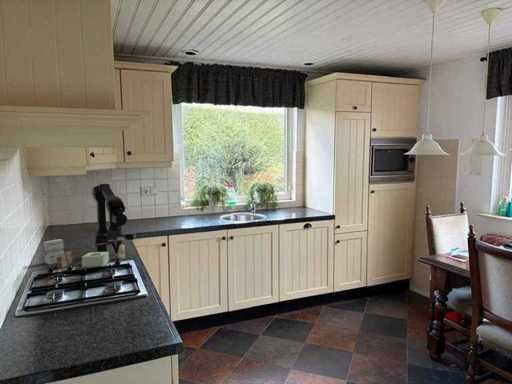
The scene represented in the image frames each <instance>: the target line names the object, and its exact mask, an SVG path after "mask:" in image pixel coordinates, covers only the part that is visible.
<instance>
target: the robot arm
mask: <svg viewBox="0 0 512 384" xmlns="http://www.w3.org/2000/svg"><path fill="white" fill-rule="evenodd" d="M91 195H92V196H93V197H92V199H94V202H96V219H97V220H96V221H97V228H96V229H95V231H94V237H93V239H92V246H93V247H95V248H96V252H108V253H109V251H108V246H111V247H112V248H113V250H114V253H115V254H116V255H118V252H119V249H120V246H121V245H122V243H123V242H124V241H125V240H127V241H133V240H135V239H136V238H137V234H136V232H127V233H125V234H123V231H122V229H123V228H122V227H123V226H124V225H126V224H127V222H128V217H127V215H126V214H124V213H125V212H126V206H125V203H124V202H123V200H122V199H121V197H119V196H117V195H115V194H114V192H113V190H112V188H111V185H110V183H100V184H98V185H97V186H94V187H93V188H92V189H91ZM106 210H107V211H106ZM107 213H108V219H109V224H108V225H109V226H108V227H107V216H106V215H107ZM107 228H108V229H107ZM109 256H110V253H109Z"/></svg>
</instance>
